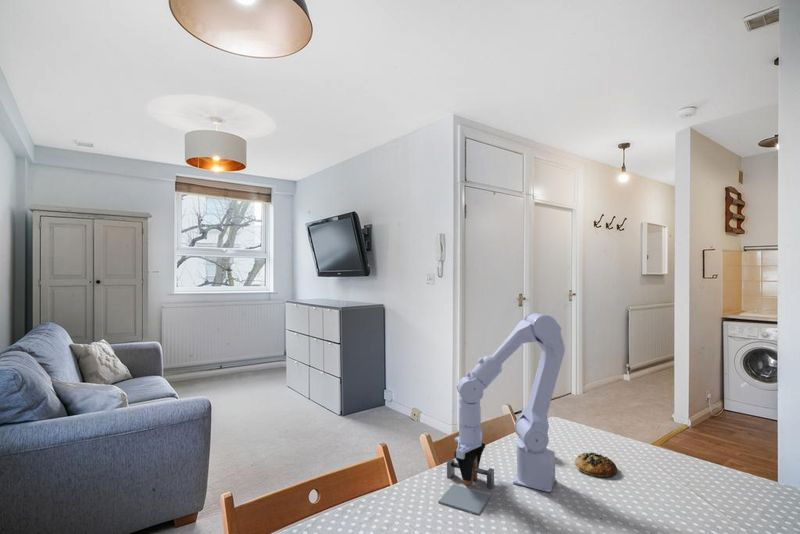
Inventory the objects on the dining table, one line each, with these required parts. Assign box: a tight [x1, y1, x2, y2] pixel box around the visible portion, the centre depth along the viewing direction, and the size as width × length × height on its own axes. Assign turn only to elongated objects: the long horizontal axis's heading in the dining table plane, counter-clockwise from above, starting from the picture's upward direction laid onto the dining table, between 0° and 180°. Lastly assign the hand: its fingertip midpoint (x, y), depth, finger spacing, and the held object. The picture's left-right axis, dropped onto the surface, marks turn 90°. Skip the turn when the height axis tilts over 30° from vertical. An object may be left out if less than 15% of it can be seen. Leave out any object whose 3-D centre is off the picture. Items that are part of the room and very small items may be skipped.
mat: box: [438, 483, 492, 516], centre depth 99 cm, size 10×9×1 cm
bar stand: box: [446, 458, 495, 490], centre depth 107 cm, size 12×2×4 cm, turn 60°
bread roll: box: [574, 451, 618, 478], centre depth 114 cm, size 11×11×5 cm
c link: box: [462, 454, 478, 487], centre depth 108 cm, size 2×5×6 cm, turn 150°
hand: (470, 475), depth 107 cm, fingers closed on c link, 5 cm apart
